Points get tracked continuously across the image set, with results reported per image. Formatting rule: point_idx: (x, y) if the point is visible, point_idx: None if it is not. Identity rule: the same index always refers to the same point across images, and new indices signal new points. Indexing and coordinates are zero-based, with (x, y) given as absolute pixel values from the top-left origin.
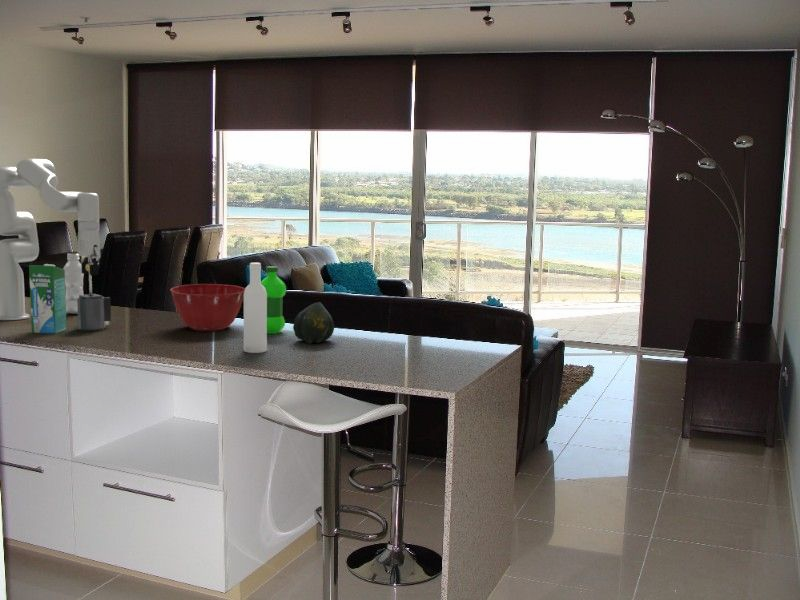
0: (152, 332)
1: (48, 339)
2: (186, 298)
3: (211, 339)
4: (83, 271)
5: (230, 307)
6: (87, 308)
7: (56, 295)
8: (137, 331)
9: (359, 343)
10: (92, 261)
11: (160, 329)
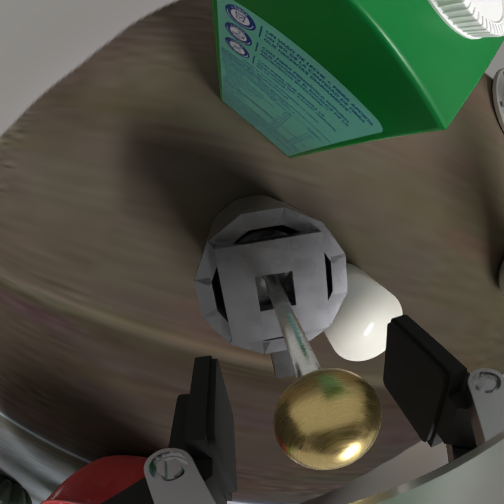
0: (117, 382)
1: (122, 65)
2: (59, 493)
3: (21, 424)
4: (394, 335)
5: None
6: (208, 237)
7: (242, 62)
8: (146, 358)
9: None
10: (152, 494)
11: (158, 412)
